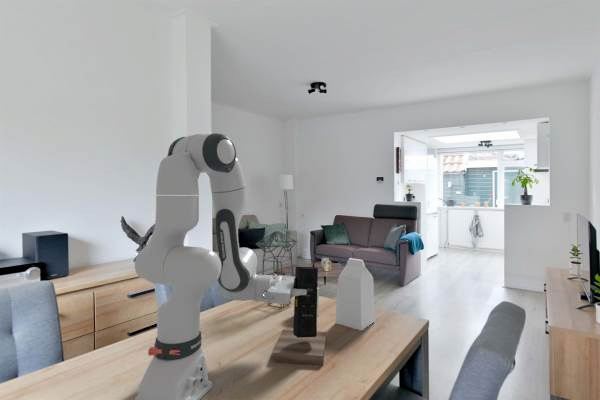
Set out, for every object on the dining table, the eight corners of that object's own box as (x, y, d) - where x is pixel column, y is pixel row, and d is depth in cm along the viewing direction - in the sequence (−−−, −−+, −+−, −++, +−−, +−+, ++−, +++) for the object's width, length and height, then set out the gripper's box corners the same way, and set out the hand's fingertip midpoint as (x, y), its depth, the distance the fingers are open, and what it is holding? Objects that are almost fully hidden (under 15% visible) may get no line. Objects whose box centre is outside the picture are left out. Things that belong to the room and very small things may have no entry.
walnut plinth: (323, 365, 107) (323, 355, 107) (272, 362, 109) (272, 352, 109) (326, 340, 125) (326, 331, 125) (282, 337, 127) (282, 329, 127)
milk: (375, 321, 142) (375, 258, 141) (361, 330, 133) (361, 263, 132) (350, 315, 149) (350, 255, 149) (335, 323, 141) (335, 259, 140)
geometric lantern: (283, 312, 153) (281, 233, 152) (255, 307, 161) (253, 232, 160) (301, 302, 166) (299, 229, 165) (275, 297, 174) (273, 228, 173)
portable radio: (294, 338, 111) (297, 259, 115) (289, 334, 117) (292, 259, 121) (317, 337, 113) (319, 260, 117) (311, 333, 119) (313, 260, 123)
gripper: (259, 287, 107) (303, 289, 105) (273, 272, 127) (310, 273, 125) (259, 308, 107) (303, 310, 105) (273, 289, 127) (310, 291, 125)
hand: (307, 290), depth 115 cm, fingers closed on portable radio
